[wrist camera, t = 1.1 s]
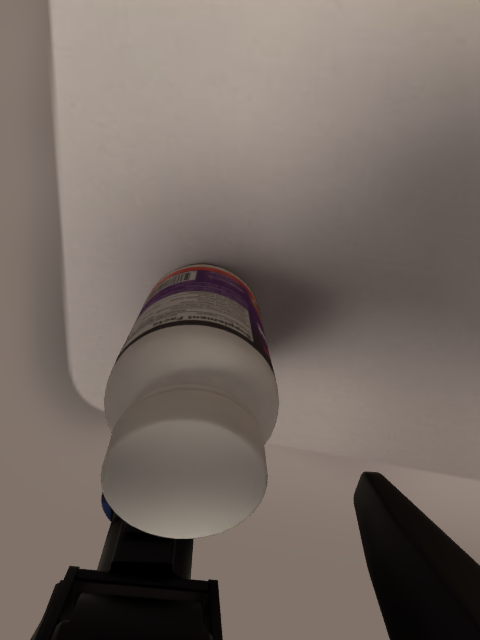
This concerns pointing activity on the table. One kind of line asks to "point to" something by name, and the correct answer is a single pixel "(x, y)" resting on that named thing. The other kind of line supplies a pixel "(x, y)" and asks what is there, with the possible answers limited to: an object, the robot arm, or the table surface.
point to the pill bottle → (190, 408)
